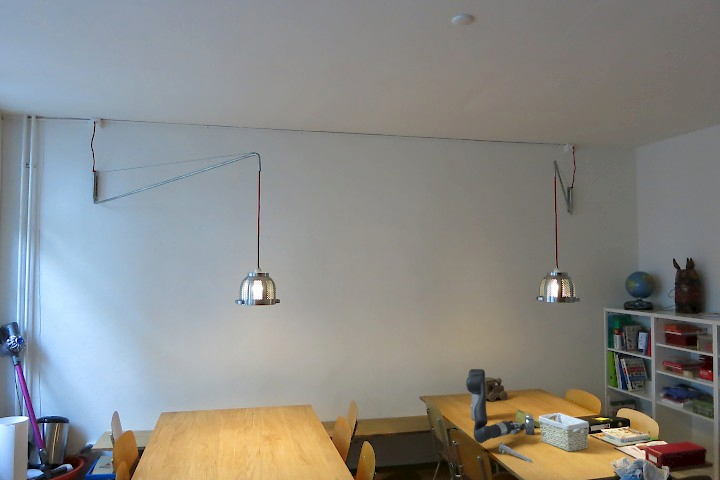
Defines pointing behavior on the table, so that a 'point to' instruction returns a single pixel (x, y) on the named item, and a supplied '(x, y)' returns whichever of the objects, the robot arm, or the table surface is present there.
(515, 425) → the stand
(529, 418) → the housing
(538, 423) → the plastic component
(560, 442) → the storage basket
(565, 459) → the table surface
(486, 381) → the wooden toy train
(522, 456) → the caliper
